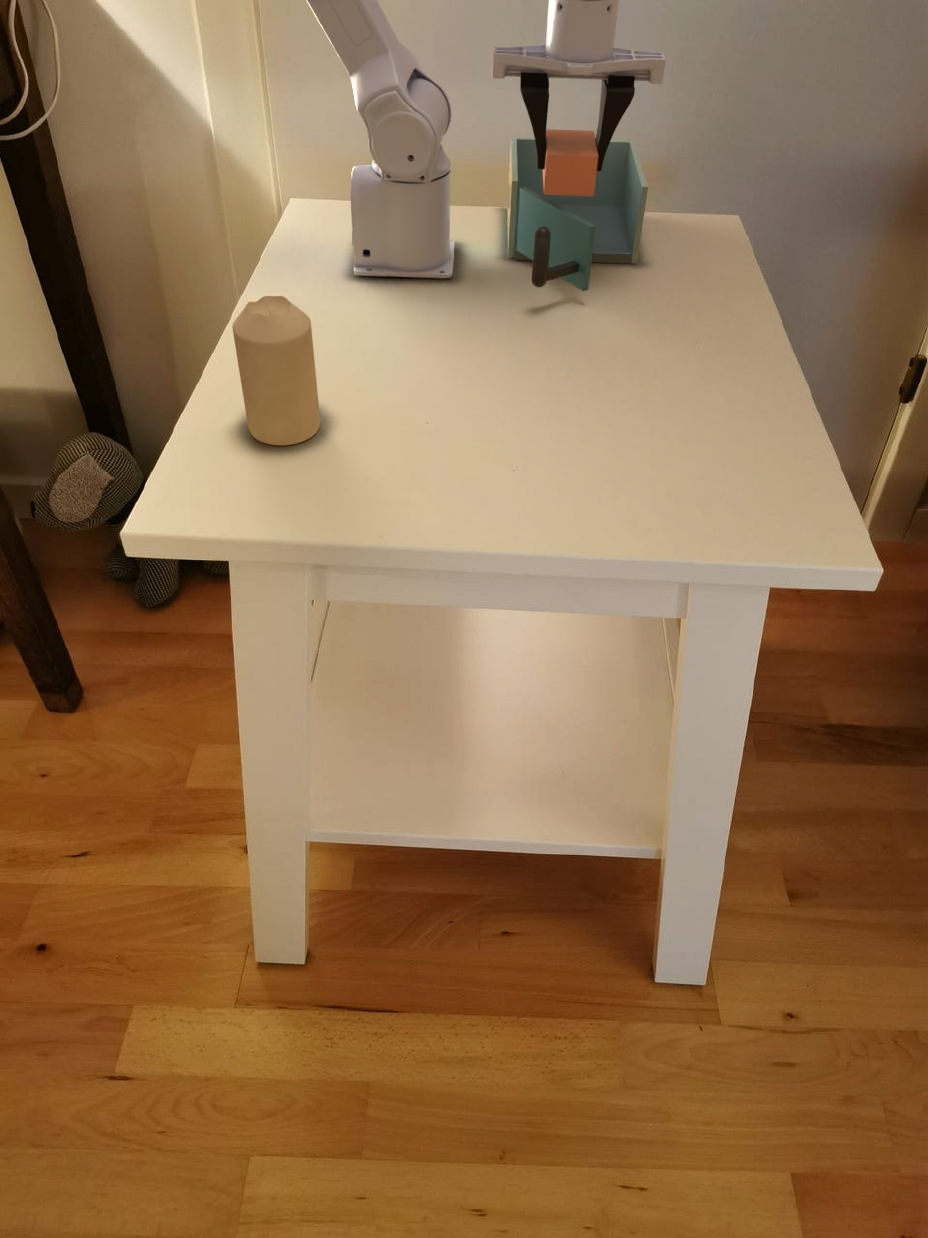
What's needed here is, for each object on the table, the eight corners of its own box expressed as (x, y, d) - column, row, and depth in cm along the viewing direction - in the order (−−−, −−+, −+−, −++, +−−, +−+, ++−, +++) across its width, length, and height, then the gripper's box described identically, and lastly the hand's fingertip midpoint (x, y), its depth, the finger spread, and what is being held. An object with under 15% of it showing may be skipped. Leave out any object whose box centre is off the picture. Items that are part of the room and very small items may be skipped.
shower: (507, 259, 97) (511, 182, 92) (507, 209, 106) (510, 136, 101) (636, 263, 97) (648, 186, 92) (625, 212, 106) (634, 139, 101)
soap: (543, 194, 87) (546, 153, 85) (542, 168, 92) (545, 128, 89) (593, 196, 87) (598, 155, 85) (590, 169, 92) (594, 130, 89)
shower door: (475, 261, 94) (477, 193, 89) (521, 248, 96) (525, 182, 91) (541, 304, 87) (546, 234, 83) (588, 290, 90) (596, 220, 85)
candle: (307, 450, 73) (294, 327, 66) (237, 441, 73) (217, 317, 66) (329, 411, 76) (319, 290, 69) (263, 402, 77) (245, 282, 70)
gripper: (494, 0, 76) (488, 179, 86) (679, 6, 76) (652, 185, 85) (495, -20, 81) (489, 151, 91) (669, -14, 81) (645, 156, 91)
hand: (568, 166), depth 88 cm, fingers closed on soap, 4 cm apart
